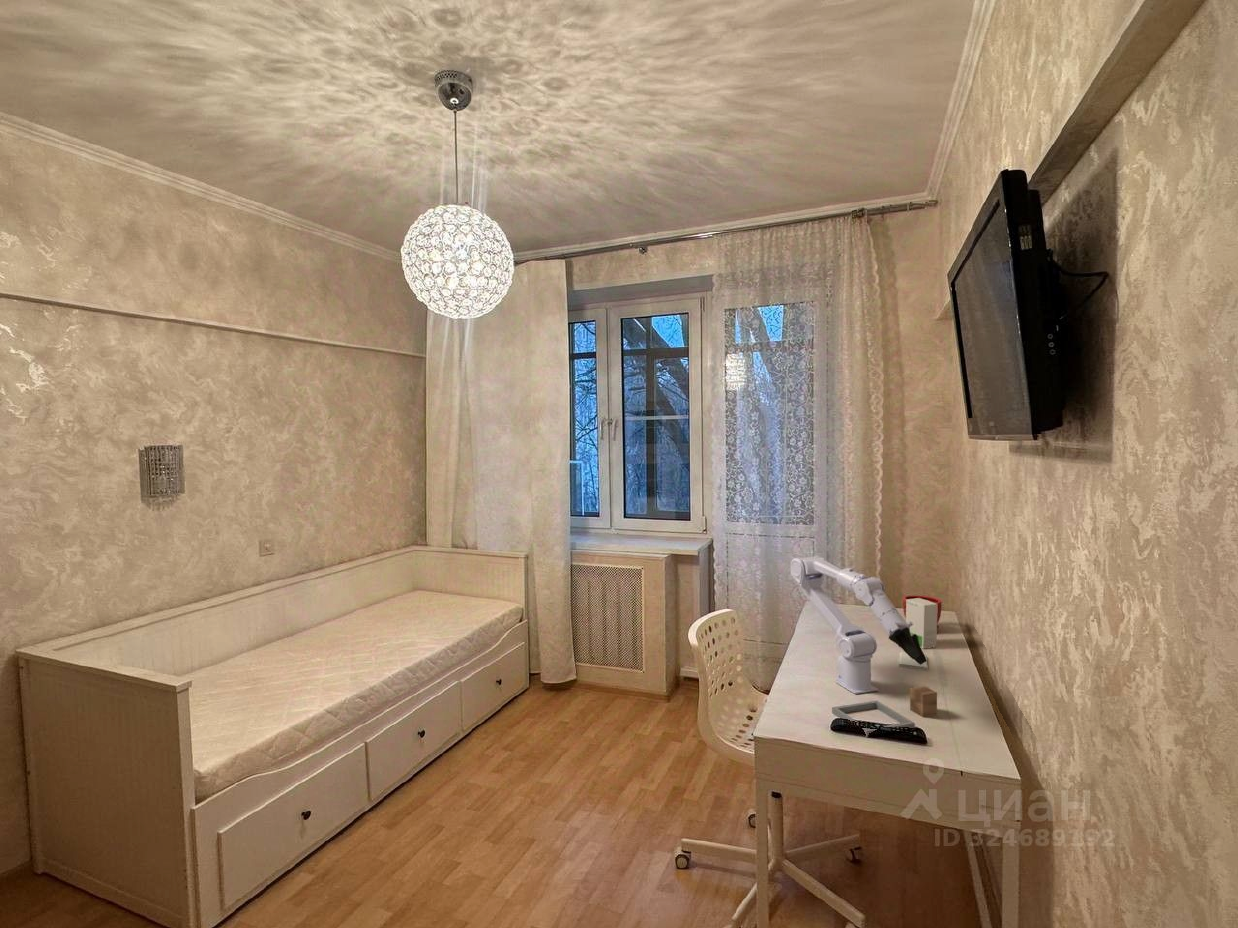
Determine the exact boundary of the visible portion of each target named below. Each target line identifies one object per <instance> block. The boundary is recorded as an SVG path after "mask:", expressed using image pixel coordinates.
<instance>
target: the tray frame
mask: <svg viewBox="0 0 1238 928" xmlns="http://www.w3.org/2000/svg"><path fill="white" fill-rule="evenodd" d="M870 709H871V710H872V709H877V710H879V711H880V712H882V713H884V714H885V715H887V716H888V717H890V718H892V719H893V720H895V721H897V722H898V723H893V724H888V725H883V726H884V727H909V728H915V729H916V727H915V724H916V723H914V722H913V721H912V720H910V719H909V718H907V717H905V716H903V715H902V714H900V713H898V712H897V711H895V710H893V709H892V708H890V707H888V705H885V704H884V703H882V702H880V701H879V700H871V701H864V702H859V703H852V704H851V703H850V704H846V705H845V704H844V705H840V706H832V707H831V713H832V715H835V716H836V717H838V718H839V717H840V718H844V719H848V720H850V721H855V722H858V721H857V720H856V719H854V718H853V717H851V716H850V715H848V714H847V713H852V712H853V713H854V712H858V711H866V710H870ZM840 718H839V719H840ZM870 728H871V727H870ZM870 728H867V727H866V728H862V729H863V730H864V732H865V734H866V736H865V737H866V738H869V737H868V735H869V733H871V732H873V731H875V730H877V729H870Z"/></svg>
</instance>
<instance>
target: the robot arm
mask: <svg viewBox="0 0 1238 928" xmlns="http://www.w3.org/2000/svg"><path fill="white" fill-rule="evenodd" d="M789 568H790V576H791V577H792V578H793V579H794V580H795V582H796V583H797V584H798V585H799V587H800V589H801V591H802V593H803V594H804V596H805V597H806V598H807V600H808V601H809V602H810V603H811V605H812V606H813V607H814V608H815V609H816V611H817V612H818V613H819V614H820V615H821V617H822V618H823V619H824V620H825V622H826V623H827V624H828V625H829V627H830V628H831V629H832V630H833V631H834V633H835V636H834V640H833V641H834V643H835V644H836V646H837V649H838V650H839V653H840V655H839V656H838V658H837V663H836V664H837V679H836V680H834V681H835V682H834V683H836V684H838V685H840V686H841V687H843V688H844V689H846V690H848V692H850V693H852V694H853V695H854V694H855V695H857V694H863V693H865V694H866V693H871V692H878V691H879V689H878V687H875V686H873V685H872V658H873V657H874V656H873V655H874V654H876V652H877V648H878V645H877V644H878V643H877V640H876V638H875V637H874V635H872V634H871V633H869V632H867V631H866V630H865V629H864V628H863V627H862V626H859V625H856V624H853V623H852V622H851V621H850V619H848V617H847V616H846V615H845V614H844V613H843V612H842V610H841V609H840V608H839V606H838V605H836V603H835V602H834V601H833V600H832V598H831V597H830V596H829V595H828V594H827V593H826V591H825V590H824V589H823V588H822V587H821V586H822V584H824V578H825V577H827V578H828V577H829V578H831V579H833V580H836V581H837V584H838V586H839V587H841V588H843V589H845V590H848V591H850V592H852V593H854V594H855V597H856V598H857V599H858V600H859V601H862V602H863V603H864V605H865V606H868V608H869V610H870V611H871V612H872V613H873V615H874V617H875V618H876V619H877V621H878V622H879V623H880V625H881V626H882V627H883V629H884V631H885V632H886V633H887V636H888V640H890V641H892V642H893V643H895V644H896V645H898V647H899V648H901V649H902V651H903V652H906V653H907V654H908V655H909V656H910V657H911V658H912V659H913V660H915V661H916V662H917V663H919V664H920V665H921V664H923V663H924V662H926V661H927V662H928V659H927V660H926V657H927V656H926V657H925V655H926V654H924V652H923V649H922V648H921V647H920V644H919V639H918V636H917V635H916V634H914V635H912V636H911V634H910V626H912V625H913V624H912V622H911V621H909V622H907V623H906V619H904V617H903V616H902V615H901V613H900V612H899V611H898V609H897V608H896V607H895V606H894V604H893V603H892V601H891V600H890V599H889V597H888V595H886V593H885V587H884V584H883V581H881V579H879V578H878V577H877V576H871V577H867V576H866V574H864V573H859V572H857V571H854V568H852V567H847V568H843V569H841V568H839V567H838V566H836V565H835V564H832V563H831V562H828V561H827V560H826V559H825V558H824V557H821V556H819V555H814V556H807V557H800V558H798V557H795V558H792V560H791V562H790V567H789Z"/></svg>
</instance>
